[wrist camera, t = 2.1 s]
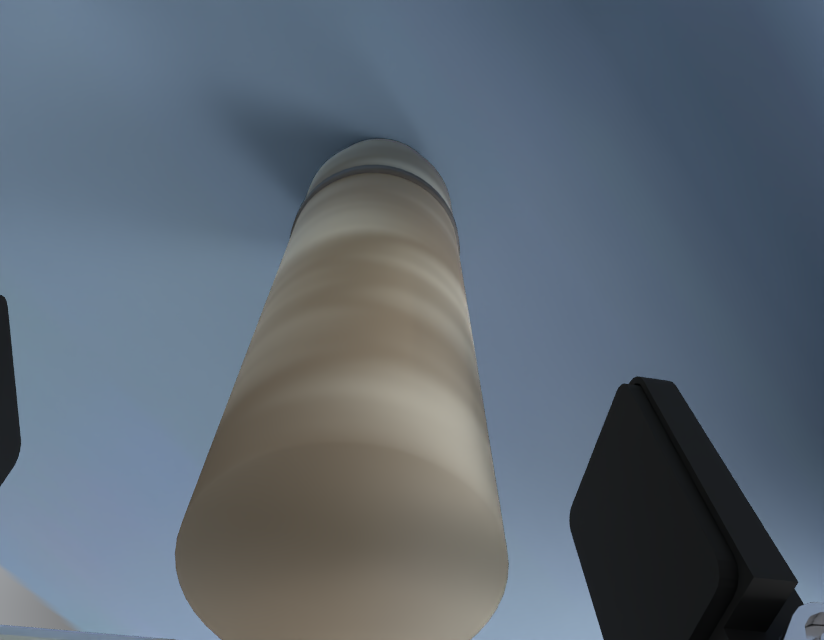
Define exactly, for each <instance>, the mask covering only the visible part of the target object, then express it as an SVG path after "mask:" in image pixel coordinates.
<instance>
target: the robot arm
mask: <svg viewBox="0 0 824 640" xmlns="http://www.w3.org/2000/svg"><path fill="white" fill-rule="evenodd" d="M20 447H21V437H20V426H19V416H18V406H17V396H16V386H15V376H14V366H13V356H12V346H11V335H10V325H9V315H8V306H7V301H6V299H5V297H3V296H2V295H0V486H1V485H2V483H3V482H4V480H5V479H6V477H7V476H8V474H9V473H10V471H11V470H12V468H13V467H14V465H15V463H16V461H17V459H18V456H19V452H20ZM570 529H571V533H572V536H573V540H574V543H575V546H576V550H577V553H578V556H579V559H580V563H581V566H582V569H583V573H584V576H585V579H586V583H587V586H588V589H589V592H590V596H591V599H592V602H593V606H594V609H595V612H596V616H597V619H598V622H599V625H600V629H601V632H602V635H603V639H604V640H824V603H821V602H810V603H807V604H805V605H804V604H803V602H802V600H801V599H800V597H799V596H798V594H797V592H796V591H795V589H794V588H795V587H796V585H797V583H798V581H797V579H796V578H795V576H794V574H793V573H792V571H791V570H790V568H789V566H788V565H787V563H786V562H785V560H784V558H783V557H782V555H781V554H780V552H779V550H778V549H777V547H776V546H775V544H774V542H773V541H772V539H771V538H770V536H769V534H768V533H767V531H766V530H765V528H764V526H763V525H762V523H761V522H760V520H759V518H758V517H757V515H756V514H755V512H754V510H753V509H752V507H751V506H750V504H749V502H748V501H747V499H746V497H745V496H744V494H743V493H742V491H741V489H740V488H739V486H738V485H737V483H736V481H735V480H734V478H733V477H732V475H731V473H730V472H729V470H728V469H727V467H726V465H725V464H724V462H723V461H722V459H721V457H720V456H719V454H718V453H717V451H716V449H715V448H714V446H713V445H712V443H711V441H710V440H709V438H708V437H707V435H706V433H705V432H704V430H703V429H702V427H701V425H700V424H699V422H698V420H697V419H696V417H695V416H694V414H693V412H692V411H691V409H690V408H689V406H688V404H687V403H686V401H685V400H684V398H683V396H682V395H681V393H680V392H679V390H678V388H677V387H676V385H675V384H674V383H673V382H671V381H666V380H659V379H652V378H645V377H638V376H637V377H635V378H633V379H632V380H631V381H630V383H629V384H622V385H621V386H620V387H619V388H618V390H617V392H616V395H615V397H614V400H613V402H612V405H611V407H610V410H609V412H608V415H607V417H606V420H605V422H604V425H603V428H602V430H601V433H600V435H599V438H598V440H597V443H596V445H595V448H594V450H593V453H592V456H591V458H590V461H589V463H588V466H587V468H586V471H585V473H584V476H583V478H582V481H581V483H580V486H579V489H578V491H577V494H576V496H575V499H574V501H573V504H572V507H571V511H570ZM0 640H174V639H162V638H151V637H139V636H127V635H115V634H103V633H92V632H80V631H68V630H55V629H44V628H33V627H21V626H8V625H0Z"/></svg>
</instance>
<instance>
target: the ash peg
mask: <svg viewBox="0 0 824 640" xmlns="http://www.w3.org/2000/svg"><path fill="white" fill-rule="evenodd" d="M459 255H460V246H459V238H458V232H457V227H456V224H455V220H454V217H453V214H452V208H451V202H450V197H449V193H448V190H447V188H446V185H445V183H444V181H443V179H442V178H441V176H440V174H439V173H438V172H437V170H436V169H435V168H434V167H433V166H432V165H431V164H430V163H429V162H428V161H427V160H426V159H425V158H424V157H422V156H421V155H420V154H419V153H418V152H416V151H415V150H414V149H412V148H411V147H409V146H407V145H405V144H403V143H400V142H398V141H394V140H390V139H369V140H364V141H361V142H358V143H356V144H353V145H351V146H350V147H348V148H346V149H344V150H342V151H340V152H338V153H337V154H335V155H334V156H332V157H331V158H330V159H329V160H327V161H326V162H325V164H324V165H323V166H322V167H321V168H320V169H319V171H318V172H317V173H316V175H315V177H314V179H313V181H312V182H311V185H310V187H309V190H308V193H307V195H306V198H305V200H304V201H303V203H302V205H301V207H300V209H299V211H298V213H297V215H296V218H295V221H294V224H293V227H292V230H291V235H290V240H289V242H288V245H287V248H286V250H285V253H284V256H283V258H282V261H281V263H280V266H279V269H278V271H277V274H276V277H275V279H274V282H273V285H272V287H271V290H270V292H269V295H268V298H267V300H266V303H265V306H264V308H263V311H262V313H261V316H260V319H259V321H258V324H257V327H256V329H255V332H254V334H253V337H252V340H251V342H250V345H249V348H248V350H247V353H246V356H245V358H244V361H243V363H242V366H241V369H240V371H239V374H238V377H237V379H236V382H235V384H234V387H233V390H232V392H231V395H230V398H229V400H228V403H227V405H226V408H225V411H224V413H223V416H222V419H221V421H220V424H219V426H218V429H217V432H216V434H215V437H214V440H213V442H212V445H211V448H210V450H209V453H208V455H207V458H206V461H205V463H204V466H203V469H202V471H201V474H200V476H199V479H198V482H197V484H196V487H195V490H194V492H193V495H192V497H191V500H190V503H189V505H188V508H187V511H186V513H185V516H184V519H183V521H182V524H181V527H180V530H179V533H178V536H177V542H176V550H175V561H176V571H177V575H178V579H179V583H180V586H181V588H182V591H183V593H184V595H185V598H186V600H187V601H188V603H189V604H190V606H191V607H192V609H193V611H194V612H195V613H196V615H197V616H198V617H199V618H200V619H201V621H202V622H203V623H204V624H205V625H206V626H207V627H208V628H209V629H210V630H211V631H212V632H213V633H214V634H216V635H217V636H218V637H219V638H220V639H222V640H470V639H472V638H473V637H474V636H475V635H476V634H478V632H479V631H480V630H481V629H482V628H483V627H484V626H485V625H486V624H487V622H488V621H489V620H490V618H491V617H492V615H493V614H494V612H495V611H496V609H497V608H498V605H499V603H500V601H501V599H502V597H503V594H504V591H505V587H506V583H507V578H508V565H509V563H508V554H507V546H506V540H505V534H504V528H503V522H502V515H501V509H500V503H499V497H498V491H497V485H496V479H495V472H494V466H493V460H492V454H491V448H490V442H489V436H488V429H487V423H486V417H485V411H484V405H483V399H482V392H481V386H480V380H479V374H478V368H477V362H476V356H475V349H474V343H473V337H472V331H471V325H470V319H469V312H468V306H467V300H466V294H465V288H464V282H463V276H462V269H461V263H460V257H459Z"/></svg>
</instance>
